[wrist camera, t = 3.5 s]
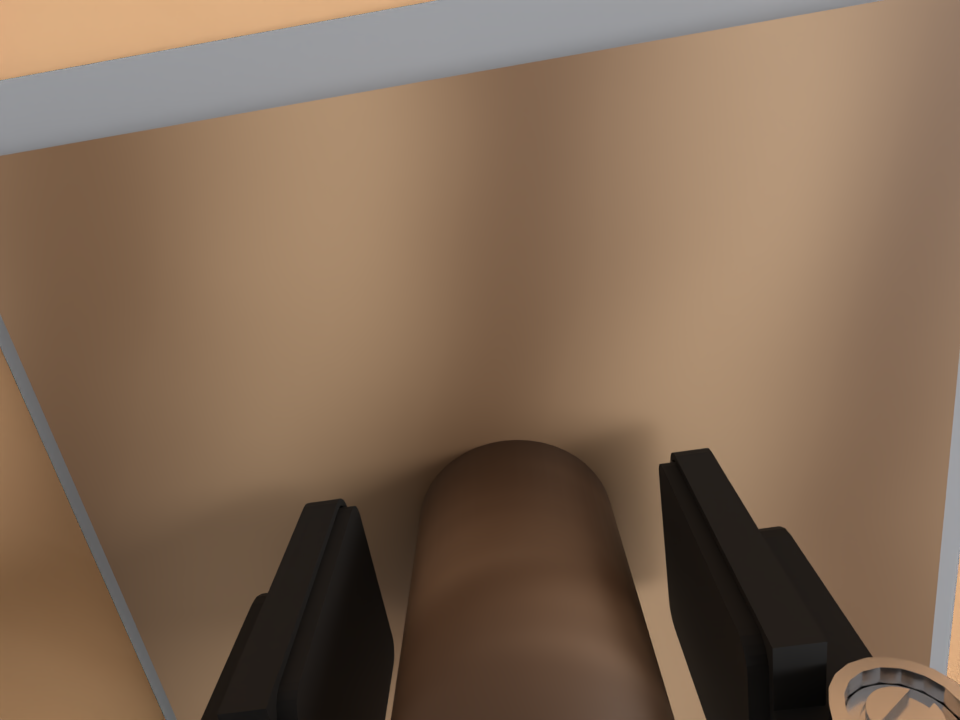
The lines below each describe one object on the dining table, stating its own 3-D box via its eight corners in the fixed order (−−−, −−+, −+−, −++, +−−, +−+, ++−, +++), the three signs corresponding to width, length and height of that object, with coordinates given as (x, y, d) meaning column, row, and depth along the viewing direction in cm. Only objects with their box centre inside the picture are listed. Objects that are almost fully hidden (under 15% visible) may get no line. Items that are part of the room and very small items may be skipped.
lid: (945, -11, 10) (1891, -189, 3) (892, 730, 15) (1211, 1240, 8) (-16, 159, 11) (-811, 289, 4) (247, 801, 16) (79, 1313, 9)
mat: (999, -99, 10) (1031, -109, 9) (921, 734, 16) (937, 758, 15) (-78, 99, 11) (-110, 100, 10) (226, 810, 17) (217, 836, 16)
